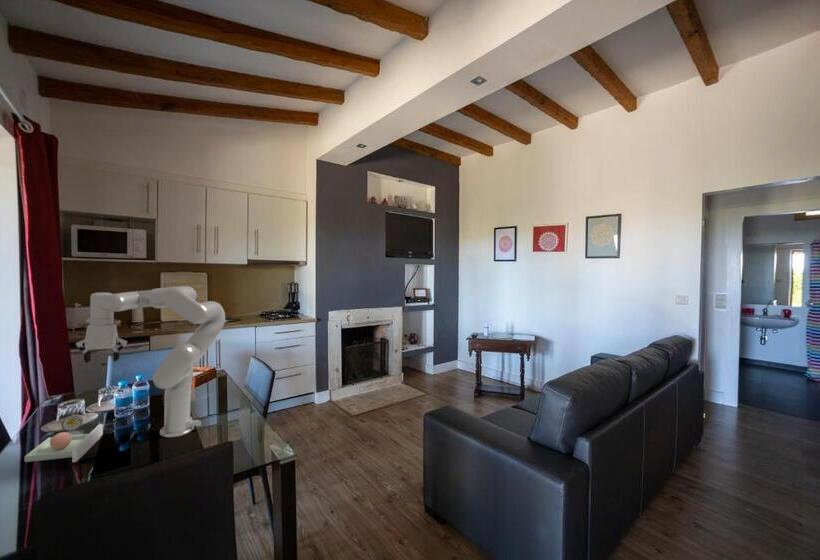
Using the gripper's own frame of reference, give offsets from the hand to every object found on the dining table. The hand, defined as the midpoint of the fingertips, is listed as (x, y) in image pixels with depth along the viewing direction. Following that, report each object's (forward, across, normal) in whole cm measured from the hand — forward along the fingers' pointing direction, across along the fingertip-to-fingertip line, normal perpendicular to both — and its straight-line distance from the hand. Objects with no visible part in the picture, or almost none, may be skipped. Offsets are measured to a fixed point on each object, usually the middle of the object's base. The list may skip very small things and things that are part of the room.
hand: (102, 361), depth 151 cm
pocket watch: (+30, -9, -2) cm, 32 cm away
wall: (+30, +2, -16) cm, 34 cm away
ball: (+27, -7, -15) cm, 31 cm away
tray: (+30, -7, -15) cm, 34 cm away
